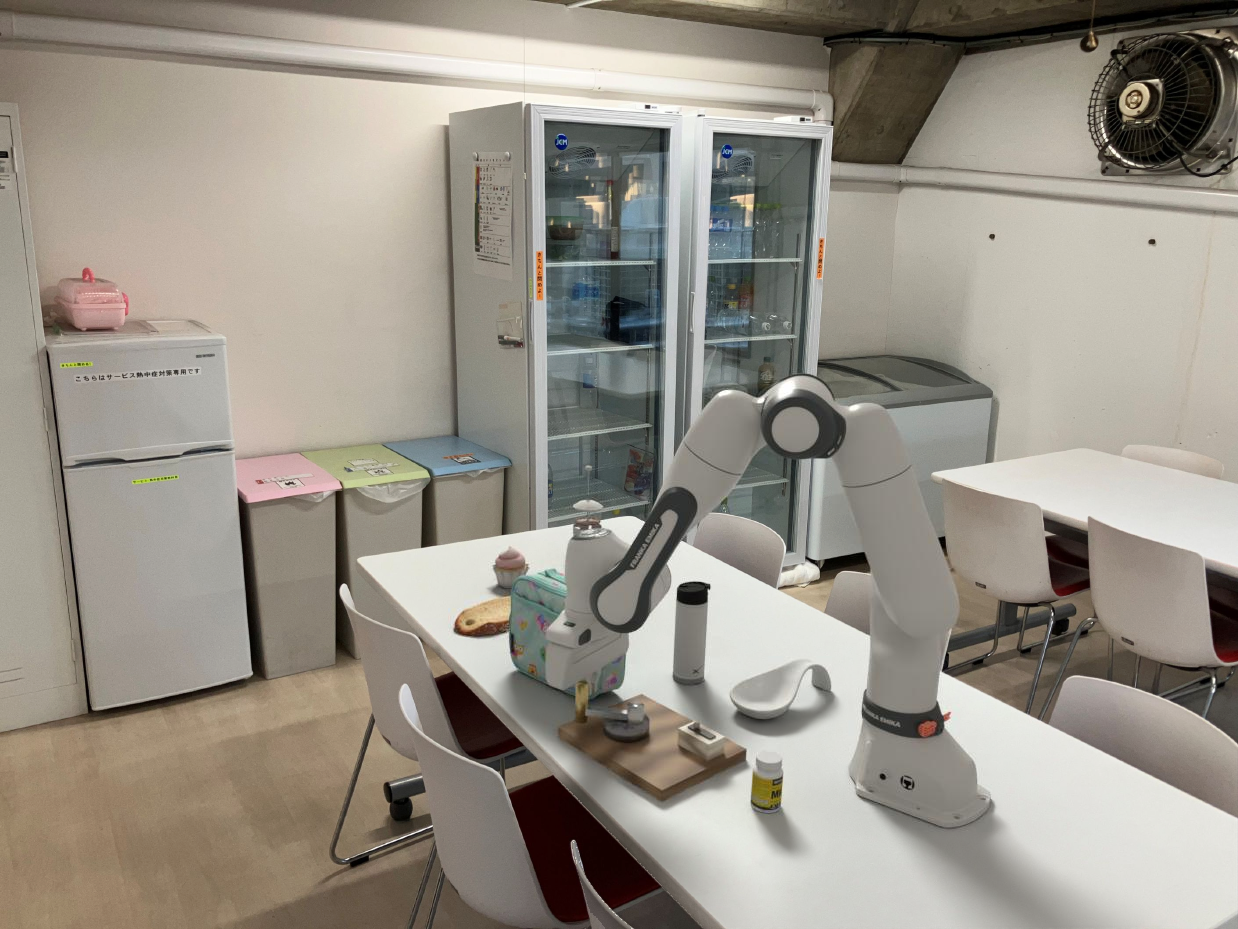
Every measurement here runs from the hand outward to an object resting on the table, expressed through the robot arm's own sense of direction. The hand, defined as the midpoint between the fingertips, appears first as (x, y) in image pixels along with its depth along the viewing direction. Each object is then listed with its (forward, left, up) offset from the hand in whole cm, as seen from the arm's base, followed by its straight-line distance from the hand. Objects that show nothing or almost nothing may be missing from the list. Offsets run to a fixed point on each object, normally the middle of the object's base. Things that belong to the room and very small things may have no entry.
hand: (589, 693), depth 174 cm
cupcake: (+69, -32, -7) cm, 76 cm away
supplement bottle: (-35, -6, -7) cm, 37 cm away
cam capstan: (-5, -1, -5) cm, 7 cm away
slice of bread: (+53, -16, -8) cm, 56 cm away
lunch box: (+19, -9, -7) cm, 22 cm away
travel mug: (+4, -29, -7) cm, 30 cm away
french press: (+75, -63, -7) cm, 99 cm away
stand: (-11, -4, -7) cm, 14 cm away
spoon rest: (-15, -36, -8) cm, 39 cm away
